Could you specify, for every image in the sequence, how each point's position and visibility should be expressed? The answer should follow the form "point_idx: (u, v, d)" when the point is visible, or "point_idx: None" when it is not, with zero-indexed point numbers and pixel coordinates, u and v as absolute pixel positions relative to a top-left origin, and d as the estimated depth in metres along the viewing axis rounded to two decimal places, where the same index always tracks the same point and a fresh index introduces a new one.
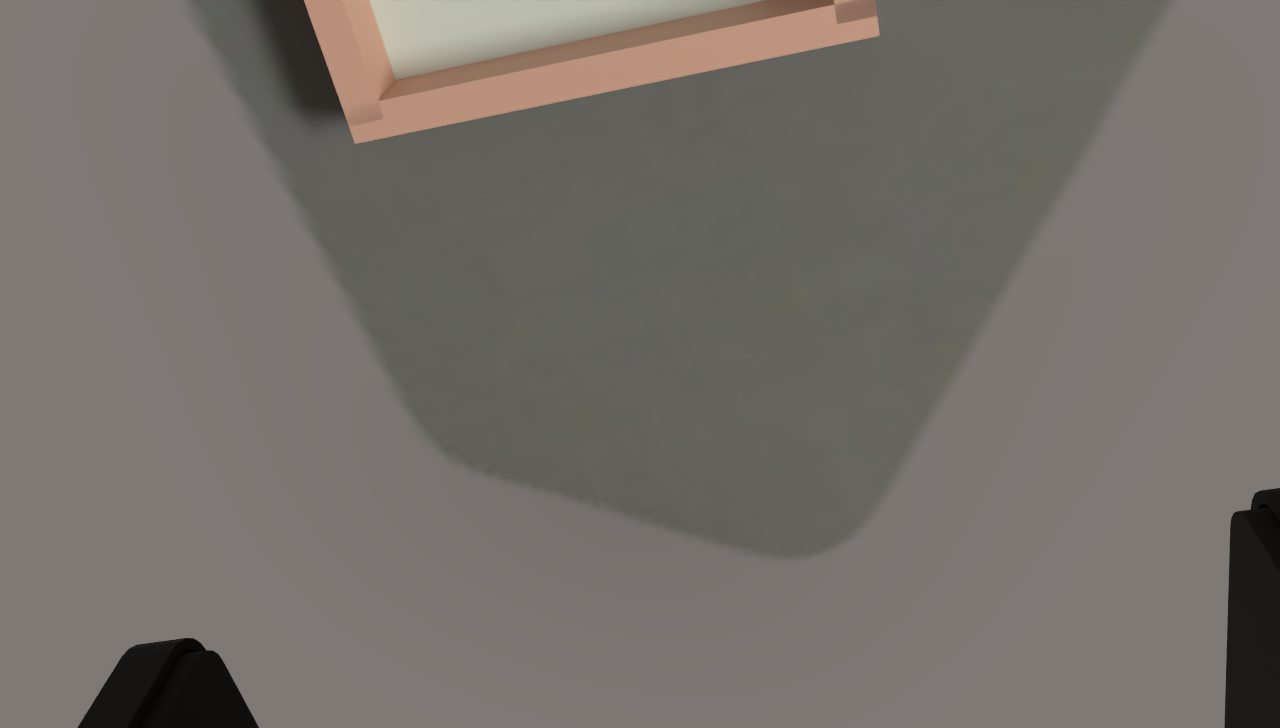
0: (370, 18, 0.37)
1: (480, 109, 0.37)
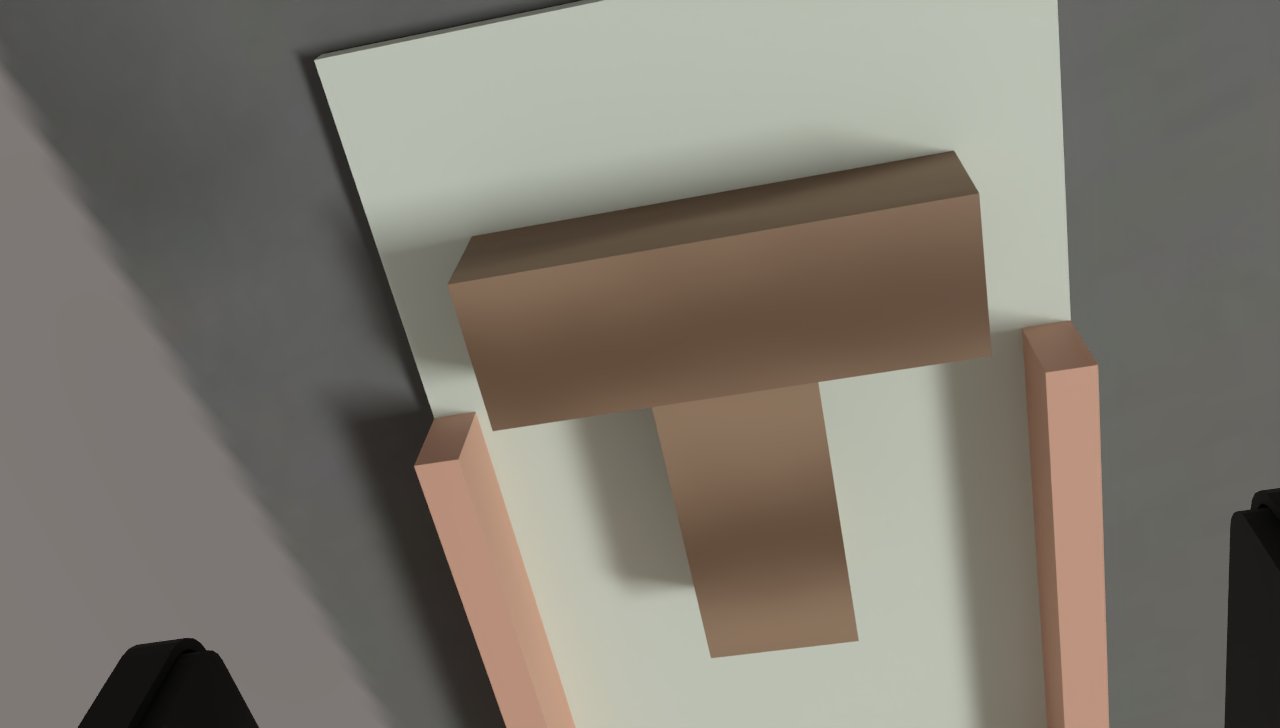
0: None
1: None
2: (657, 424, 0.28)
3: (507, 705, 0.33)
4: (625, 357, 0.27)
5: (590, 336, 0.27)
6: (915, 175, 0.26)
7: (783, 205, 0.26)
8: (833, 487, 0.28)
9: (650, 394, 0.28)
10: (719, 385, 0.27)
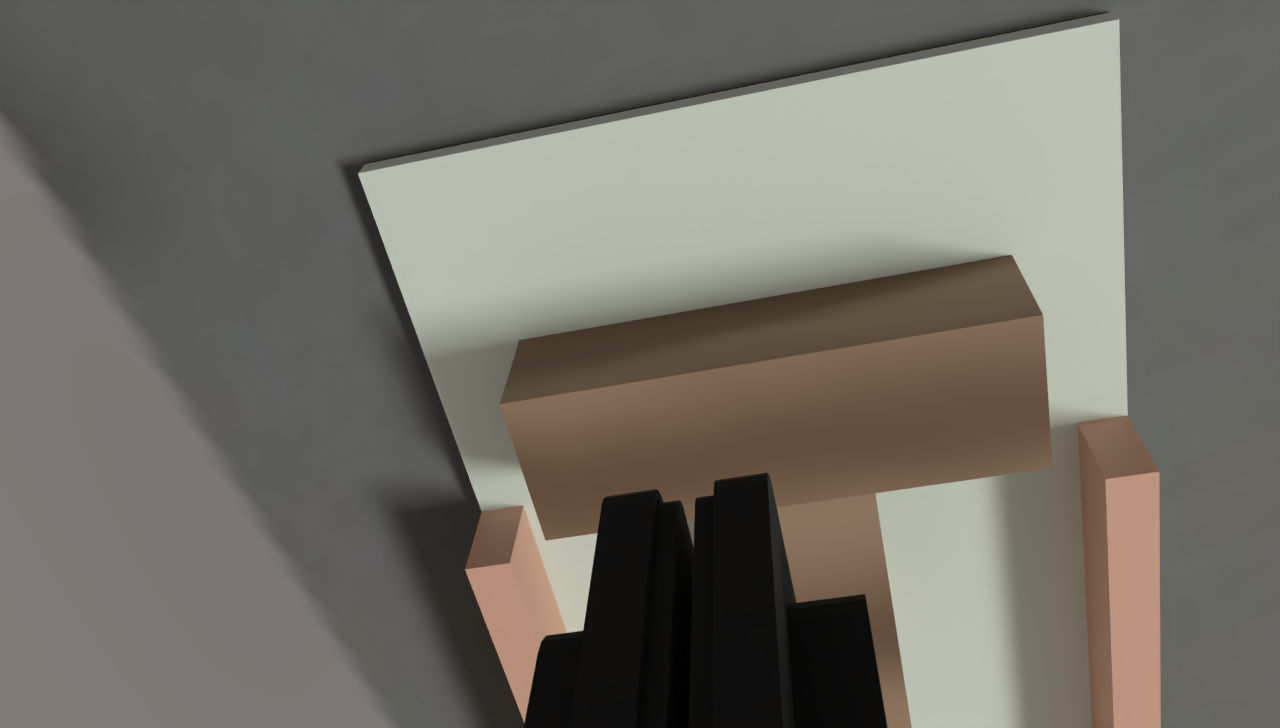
0: None
1: None
2: None
3: None
4: (680, 471, 0.27)
5: (644, 451, 0.27)
6: (974, 286, 0.26)
7: (839, 318, 0.26)
8: (889, 591, 0.28)
9: None
10: (775, 496, 0.27)
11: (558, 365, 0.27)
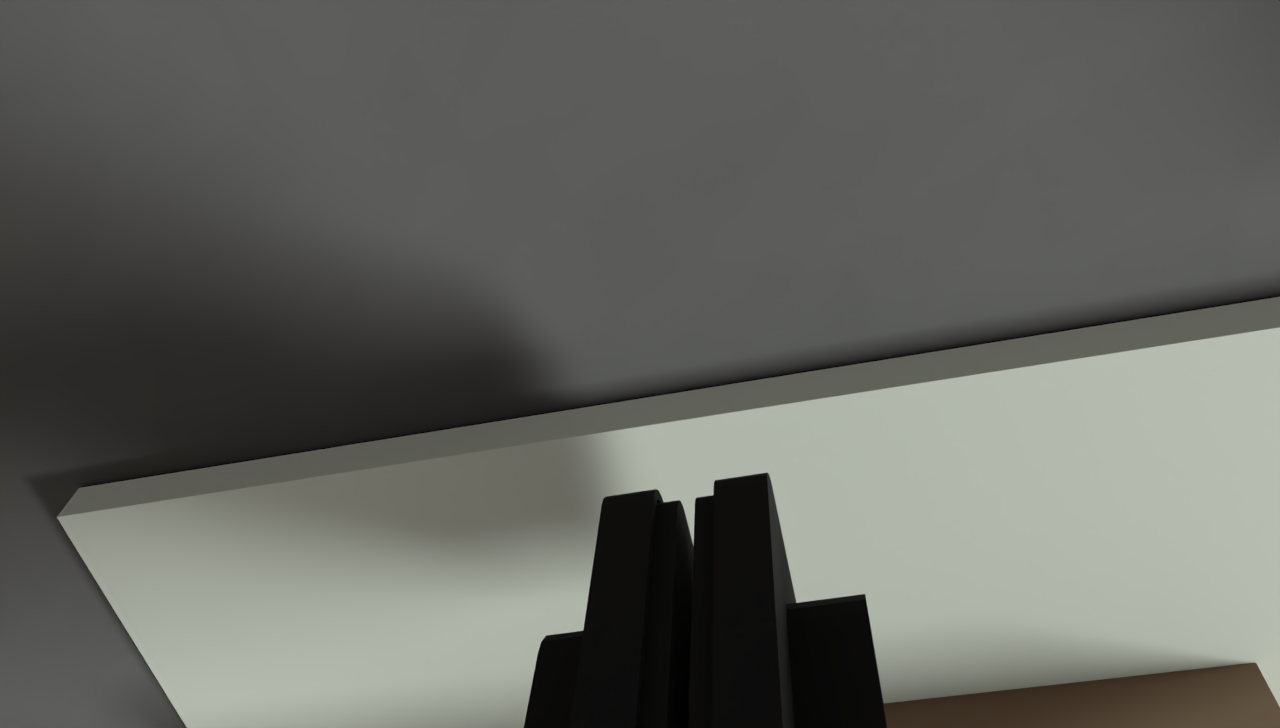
0: None
1: None
2: None
3: None
4: None
5: None
6: None
7: None
8: None
9: None
10: None
11: None
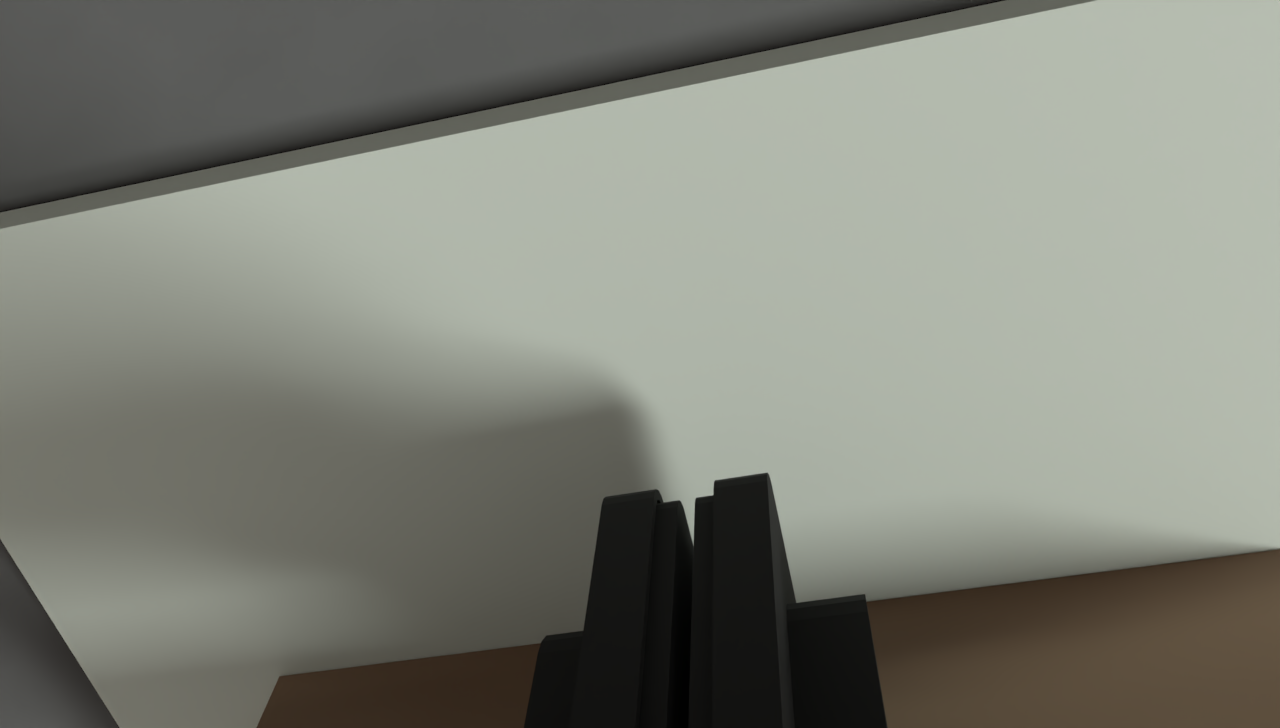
0: None
1: None
2: None
3: None
4: None
5: None
6: (1223, 640, 0.12)
7: (927, 707, 0.12)
8: None
9: None
10: None
11: None
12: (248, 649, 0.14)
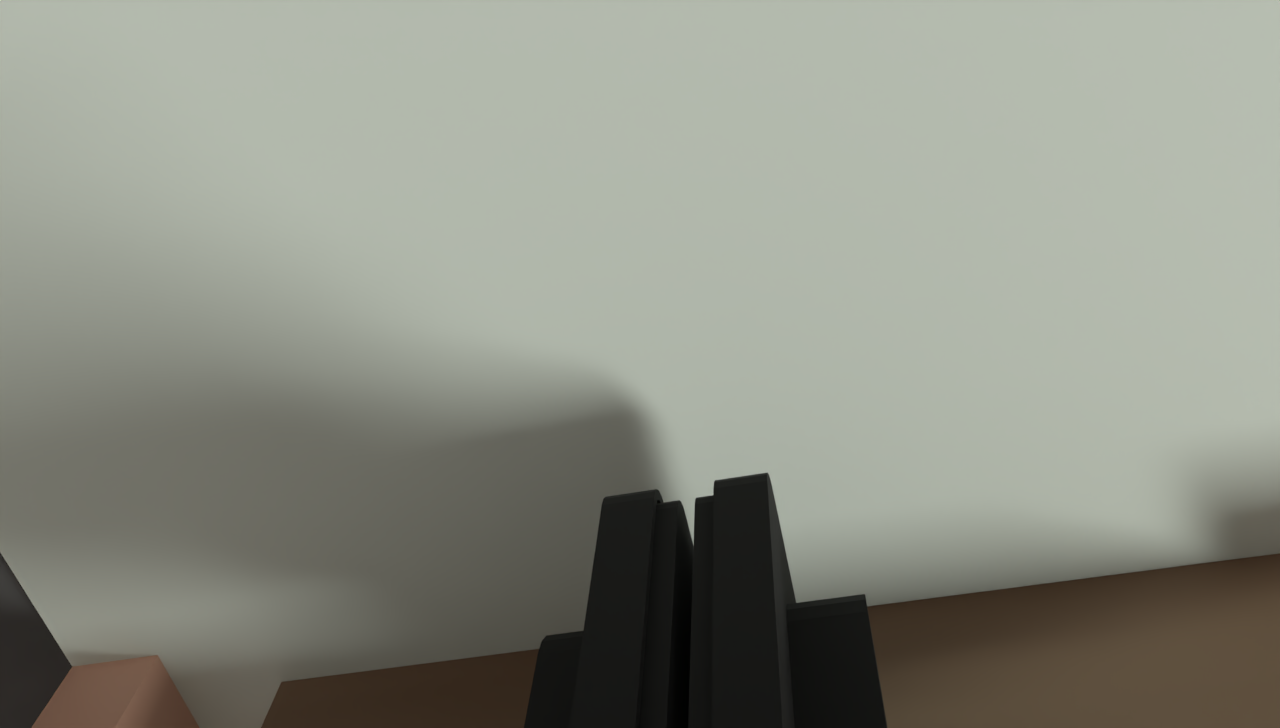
0: None
1: None
2: None
3: None
4: None
5: None
6: (1230, 643, 0.12)
7: (932, 711, 0.12)
8: None
9: None
10: None
11: None
12: (87, 360, 0.12)
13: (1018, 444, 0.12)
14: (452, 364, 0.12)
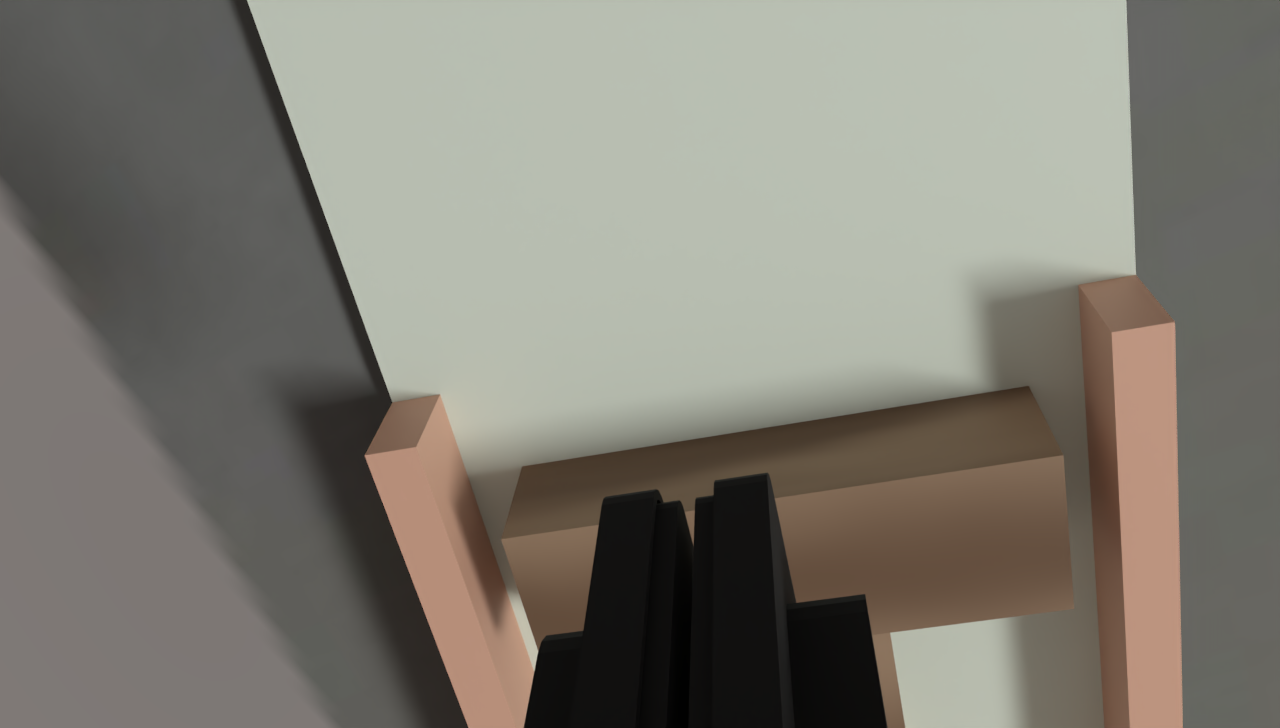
0: None
1: None
2: None
3: None
4: None
5: None
6: (990, 420, 0.25)
7: (853, 452, 0.25)
8: None
9: None
10: None
11: (562, 496, 0.26)
12: (432, 223, 0.25)
13: (885, 265, 0.25)
14: (611, 224, 0.25)
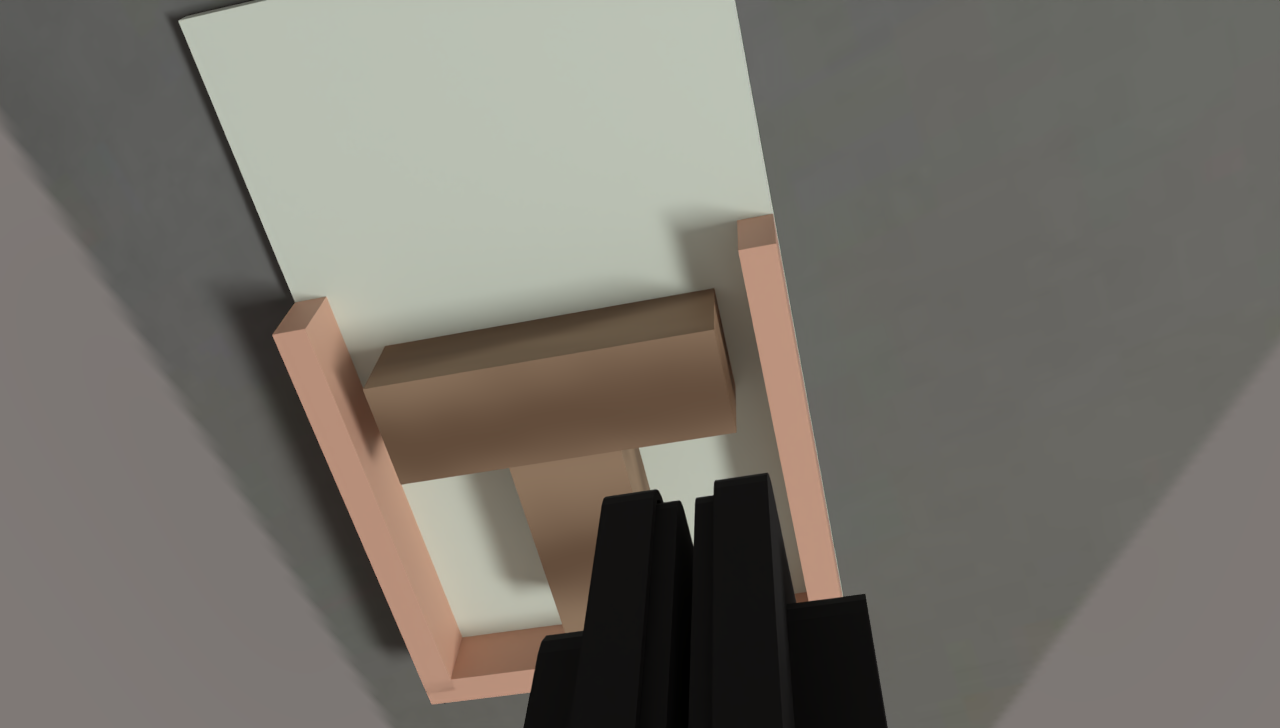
0: (444, 605, 0.47)
1: None
2: (513, 479, 0.40)
3: (363, 530, 0.42)
4: (488, 435, 0.39)
5: (463, 422, 0.39)
6: (682, 309, 0.38)
7: (592, 331, 0.39)
8: None
9: (507, 459, 0.40)
10: (553, 453, 0.40)
11: (406, 363, 0.40)
12: (313, 181, 0.38)
13: (611, 208, 0.38)
14: (430, 182, 0.38)
